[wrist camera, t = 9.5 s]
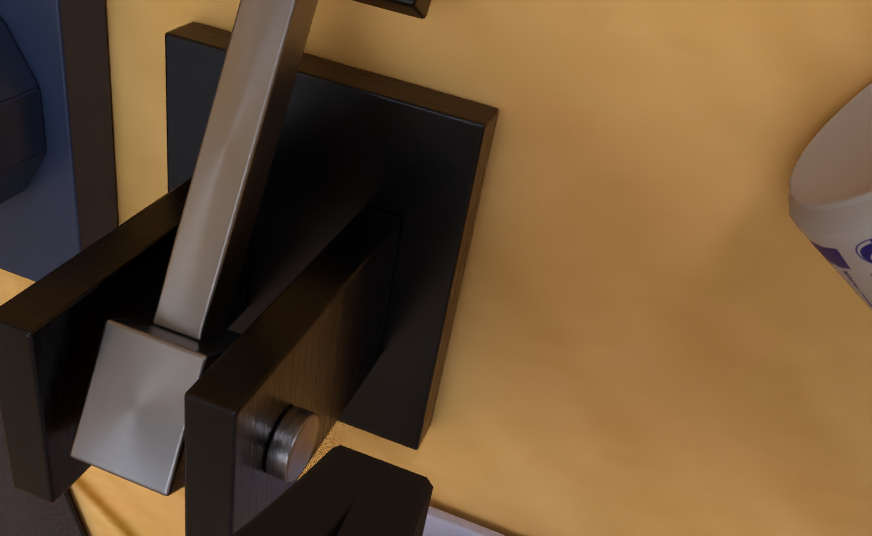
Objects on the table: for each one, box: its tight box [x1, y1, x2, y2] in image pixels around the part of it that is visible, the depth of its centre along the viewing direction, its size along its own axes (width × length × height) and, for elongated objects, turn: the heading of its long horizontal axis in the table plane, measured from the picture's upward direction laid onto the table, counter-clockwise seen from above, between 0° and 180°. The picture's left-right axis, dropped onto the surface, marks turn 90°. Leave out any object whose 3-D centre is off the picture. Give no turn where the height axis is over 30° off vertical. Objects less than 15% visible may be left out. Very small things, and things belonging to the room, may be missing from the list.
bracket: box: [0, 22, 498, 536], centre depth 19 cm, size 10×8×9 cm
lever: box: [70, 0, 431, 496], centre depth 16 cm, size 11×6×2 cm, turn 170°
